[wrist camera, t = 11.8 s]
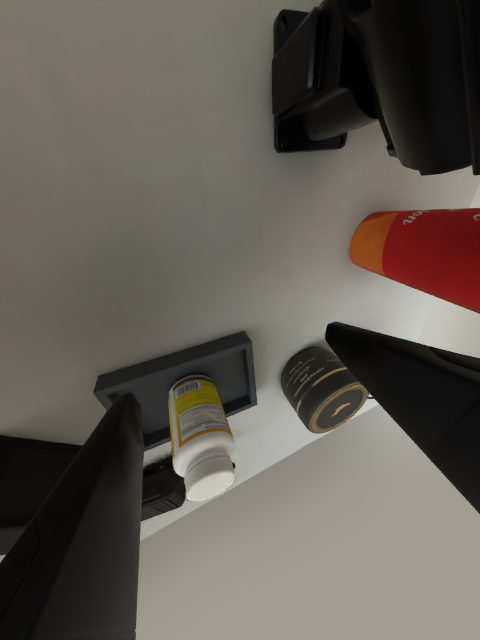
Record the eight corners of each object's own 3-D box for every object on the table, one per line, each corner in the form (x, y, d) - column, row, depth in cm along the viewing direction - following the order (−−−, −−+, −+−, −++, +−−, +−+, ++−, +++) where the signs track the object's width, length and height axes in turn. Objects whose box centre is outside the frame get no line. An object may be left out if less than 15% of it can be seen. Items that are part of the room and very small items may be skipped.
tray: (244, 331, 23) (251, 341, 21) (251, 393, 29) (257, 404, 28) (98, 376, 19) (92, 393, 18) (142, 436, 26) (141, 453, 24)
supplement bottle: (196, 409, 26) (216, 505, 18) (157, 400, 23) (159, 512, 14) (223, 379, 25) (257, 466, 17) (186, 365, 22) (205, 464, 13)
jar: (264, 386, 30) (292, 434, 24) (305, 334, 27) (348, 373, 21) (303, 395, 35) (334, 436, 29) (340, 353, 33) (383, 388, 27)
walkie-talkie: (72, 510, 24) (225, 447, 26) (104, 480, 30) (226, 431, 33) (82, 566, 23) (240, 497, 25) (113, 523, 29) (238, 470, 31)
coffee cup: (407, 224, 24) (662, 245, 12) (364, 283, 27) (539, 351, 14) (376, 181, 20) (724, 148, 8) (328, 257, 22) (534, 322, 10)
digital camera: (-35, 470, 19) (-115, 582, 13) (-5, 434, 18) (-75, 536, 13) (82, 475, 25) (61, 554, 19) (108, 449, 24) (94, 522, 19)
